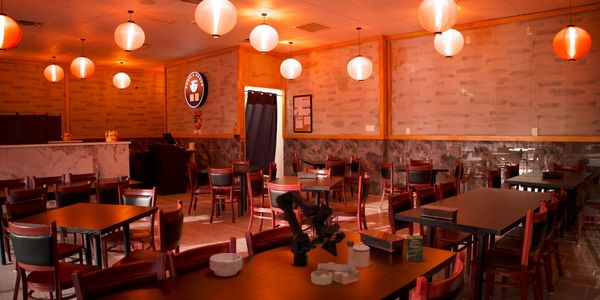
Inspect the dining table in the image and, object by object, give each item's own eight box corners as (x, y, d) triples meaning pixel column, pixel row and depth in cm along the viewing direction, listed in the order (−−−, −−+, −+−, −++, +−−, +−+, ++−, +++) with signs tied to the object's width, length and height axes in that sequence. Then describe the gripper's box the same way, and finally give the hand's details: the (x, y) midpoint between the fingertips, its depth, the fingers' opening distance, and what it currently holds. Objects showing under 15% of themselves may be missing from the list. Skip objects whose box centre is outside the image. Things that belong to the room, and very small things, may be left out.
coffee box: (407, 261, 226) (407, 236, 225) (406, 259, 229) (406, 234, 228) (423, 261, 225) (423, 236, 224) (422, 260, 228) (422, 235, 227)
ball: (319, 276, 193) (326, 276, 192) (319, 272, 196) (327, 272, 196) (319, 283, 194) (327, 283, 193) (320, 279, 197) (327, 279, 197)
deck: (317, 274, 207) (317, 265, 206) (332, 270, 212) (331, 262, 212) (344, 284, 193) (344, 275, 192) (359, 280, 198) (359, 271, 198)
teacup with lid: (372, 267, 216) (372, 244, 216) (355, 269, 214) (355, 245, 214) (363, 260, 228) (363, 238, 227) (347, 261, 226) (347, 239, 225)
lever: (316, 273, 195) (316, 239, 194) (318, 267, 202) (318, 235, 202) (354, 275, 192) (354, 241, 191) (355, 269, 199) (355, 237, 199)
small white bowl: (308, 283, 194) (308, 275, 194) (315, 277, 203) (315, 269, 203) (328, 286, 191) (328, 278, 191) (334, 279, 200) (334, 271, 199)
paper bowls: (248, 271, 212) (248, 254, 212) (229, 280, 199) (229, 263, 198) (223, 266, 219) (223, 250, 219) (203, 275, 206) (202, 259, 206)
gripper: (313, 220, 197) (329, 250, 189) (343, 215, 208) (360, 243, 200) (302, 234, 203) (317, 263, 195) (331, 228, 215) (347, 256, 207)
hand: (336, 256), depth 199 cm, fingers closed
